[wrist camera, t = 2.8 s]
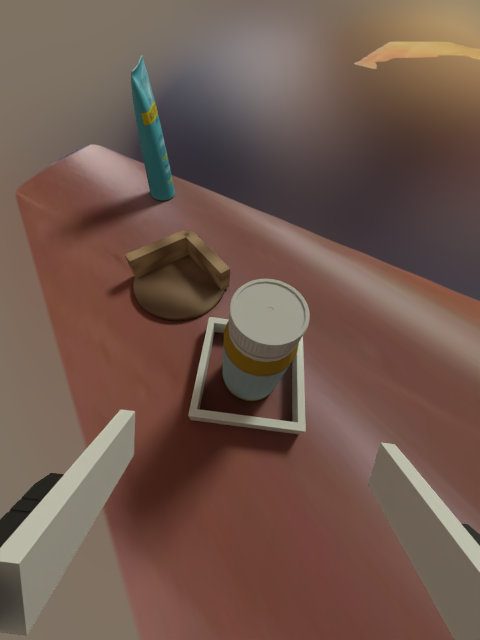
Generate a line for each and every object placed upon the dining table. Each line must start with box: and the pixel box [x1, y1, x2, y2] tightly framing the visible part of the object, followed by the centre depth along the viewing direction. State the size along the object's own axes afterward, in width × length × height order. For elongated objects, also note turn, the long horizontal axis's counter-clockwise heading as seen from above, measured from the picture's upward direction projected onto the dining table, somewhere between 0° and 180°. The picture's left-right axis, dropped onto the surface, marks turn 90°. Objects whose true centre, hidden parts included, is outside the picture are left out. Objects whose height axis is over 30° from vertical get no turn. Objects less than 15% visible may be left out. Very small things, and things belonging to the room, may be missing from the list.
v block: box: [125, 230, 230, 321], centre depth 36 cm, size 14×15×4 cm
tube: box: [131, 56, 175, 201], centre depth 42 cm, size 7×5×19 cm, turn 7°
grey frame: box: [188, 317, 306, 434], centre depth 30 cm, size 13×13×2 cm
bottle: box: [223, 279, 309, 401], centre depth 25 cm, size 7×7×15 cm
